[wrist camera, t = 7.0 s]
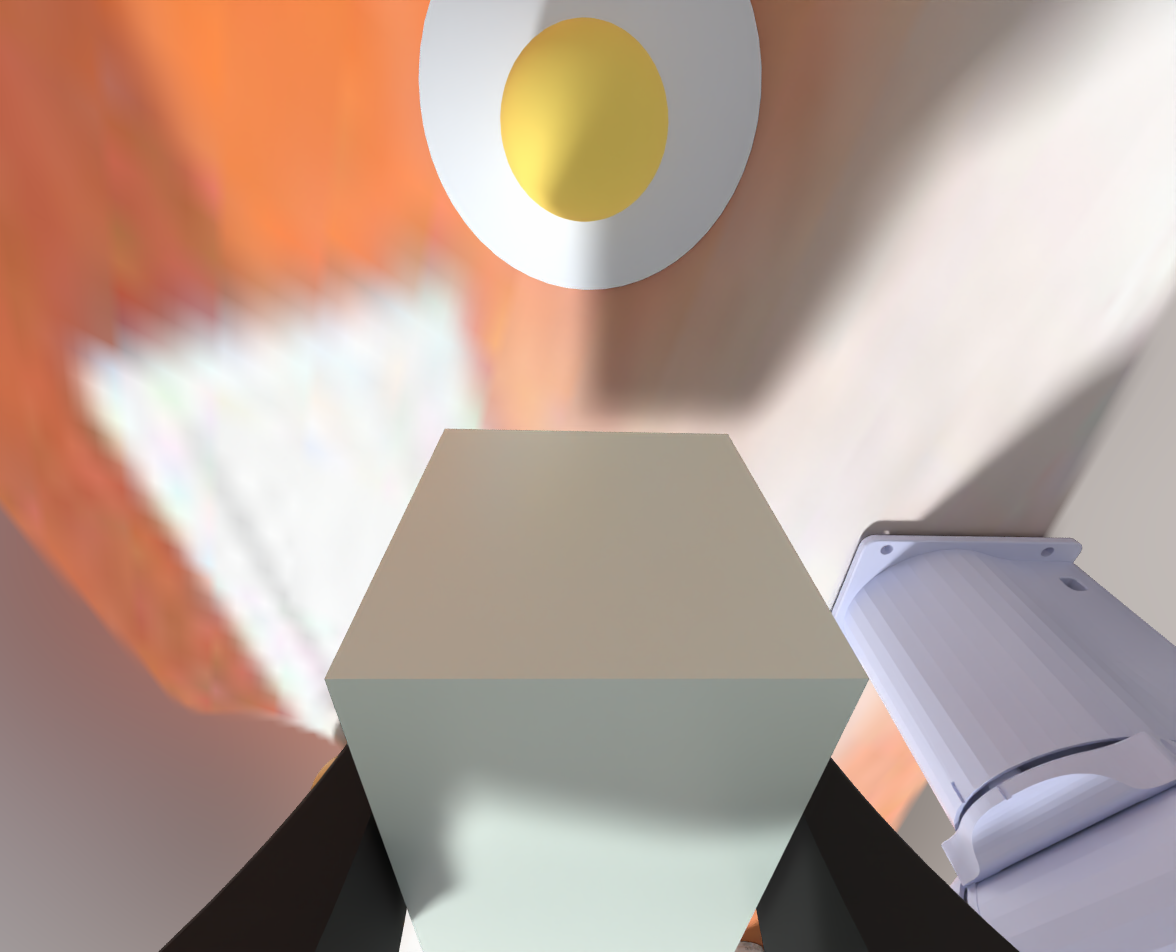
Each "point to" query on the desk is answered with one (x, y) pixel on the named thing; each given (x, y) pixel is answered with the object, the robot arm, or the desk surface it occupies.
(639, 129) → the ball
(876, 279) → the desk surface
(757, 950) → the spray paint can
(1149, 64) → the desk surface
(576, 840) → the pale mint box
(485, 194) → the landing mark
